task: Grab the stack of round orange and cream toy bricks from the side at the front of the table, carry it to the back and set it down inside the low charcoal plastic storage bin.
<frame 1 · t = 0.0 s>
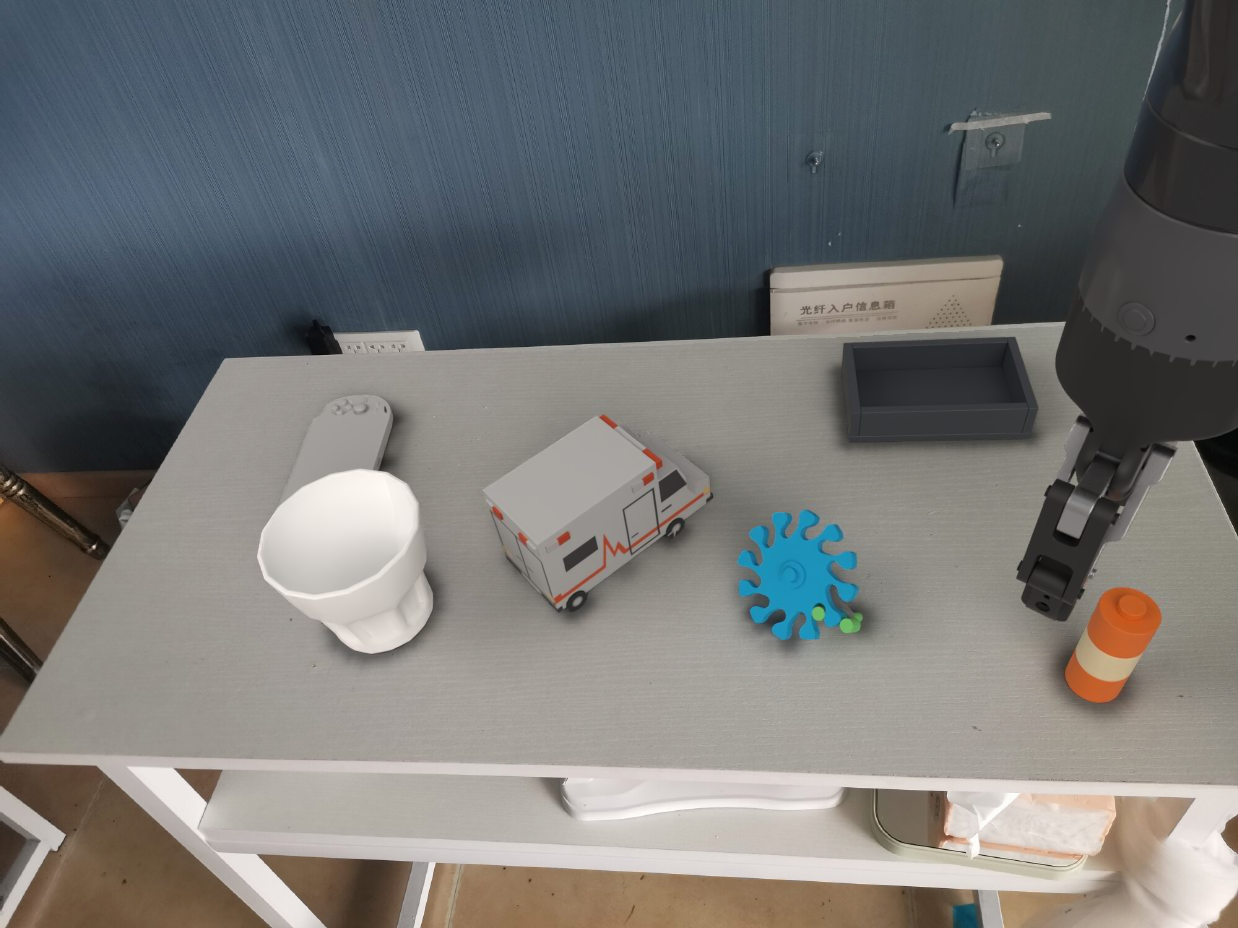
hand: (1079, 549, 45), 22 cm above the table, tool pointing down, fingers open, 8 cm apart
cup: (385, 611, 75), on the table
gear: (799, 607, 70), on the table
brick tower: (1092, 679, 63), on the table
bin: (930, 403, 83), on the table
game console: (343, 474, 87), on the table
toy vehicle: (612, 537, 77), on the table
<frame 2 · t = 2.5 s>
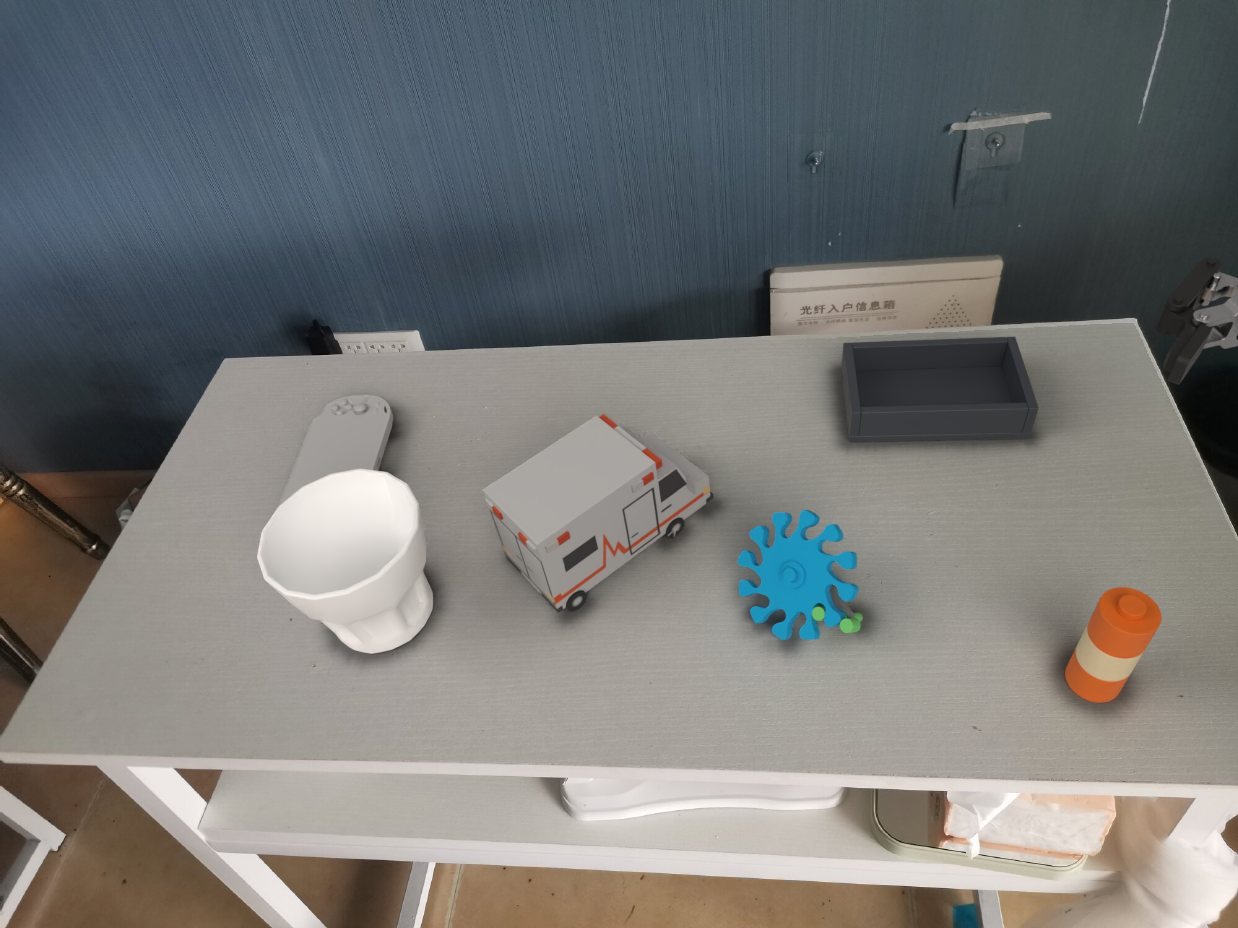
nothing on the table moved.
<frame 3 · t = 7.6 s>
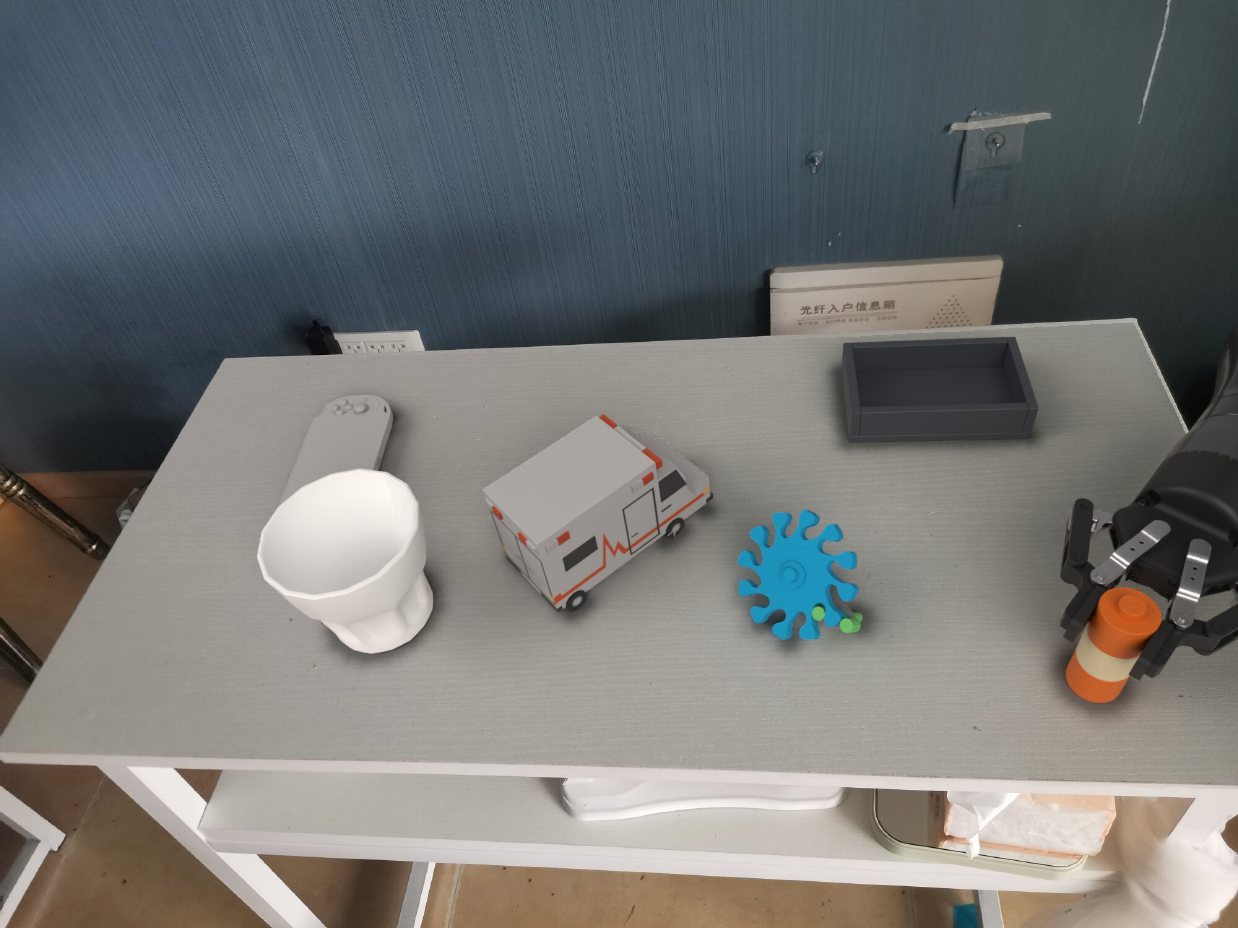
hand: (1104, 651, 56), 8 cm above the table, tool horizontal, fingers closed on brick tower, 3 cm apart
brick tower: (1092, 680, 63), on the table, touching gripper
everything else where it was.
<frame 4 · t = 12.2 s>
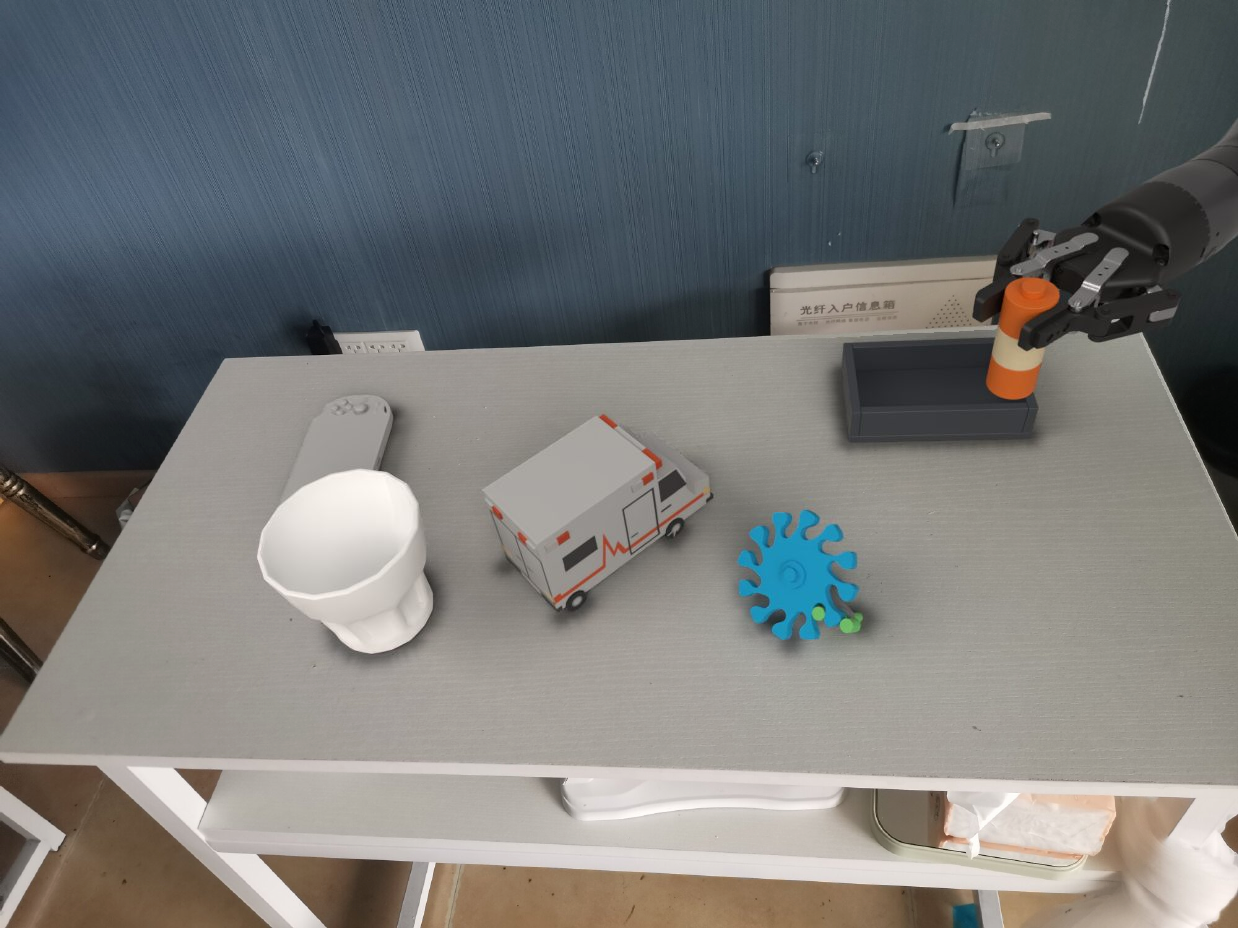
hand: (1000, 324, 64), 17 cm above the table, tool horizontal, fingers closed on brick tower, 3 cm apart
brick tower: (1010, 383, 70), point 10 cm above the table, touching gripper
everything else where it was.
when the fingers open (8 cm above the table, at t = 16.7 s): brick tower stays where it is, resting on bin.
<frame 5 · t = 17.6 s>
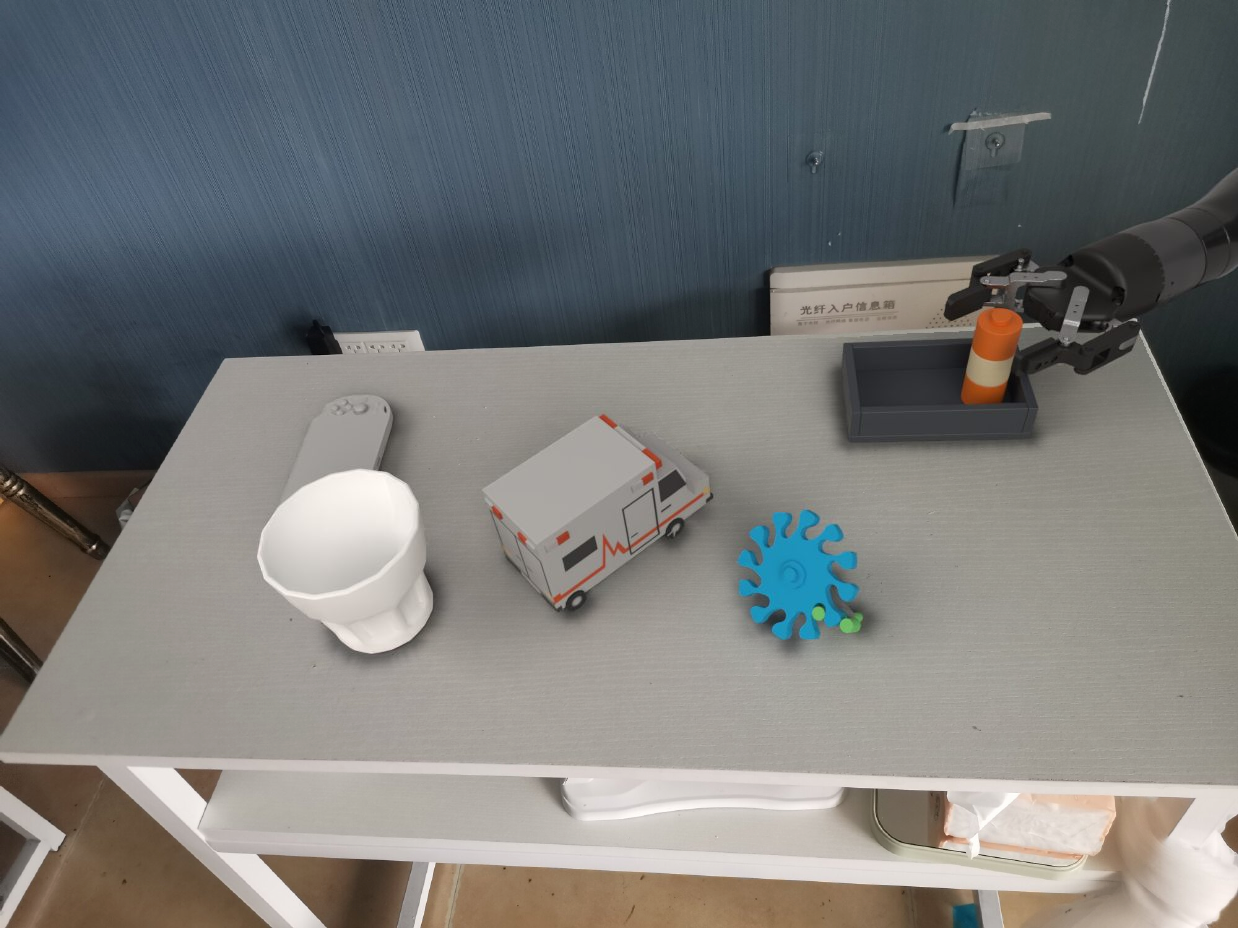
hand: (980, 337, 75), 9 cm above the table, tool horizontal, fingers open, 8 cm apart
brick tower: (981, 397, 82), point 1 cm above the table, touching bin
everything else where it was.
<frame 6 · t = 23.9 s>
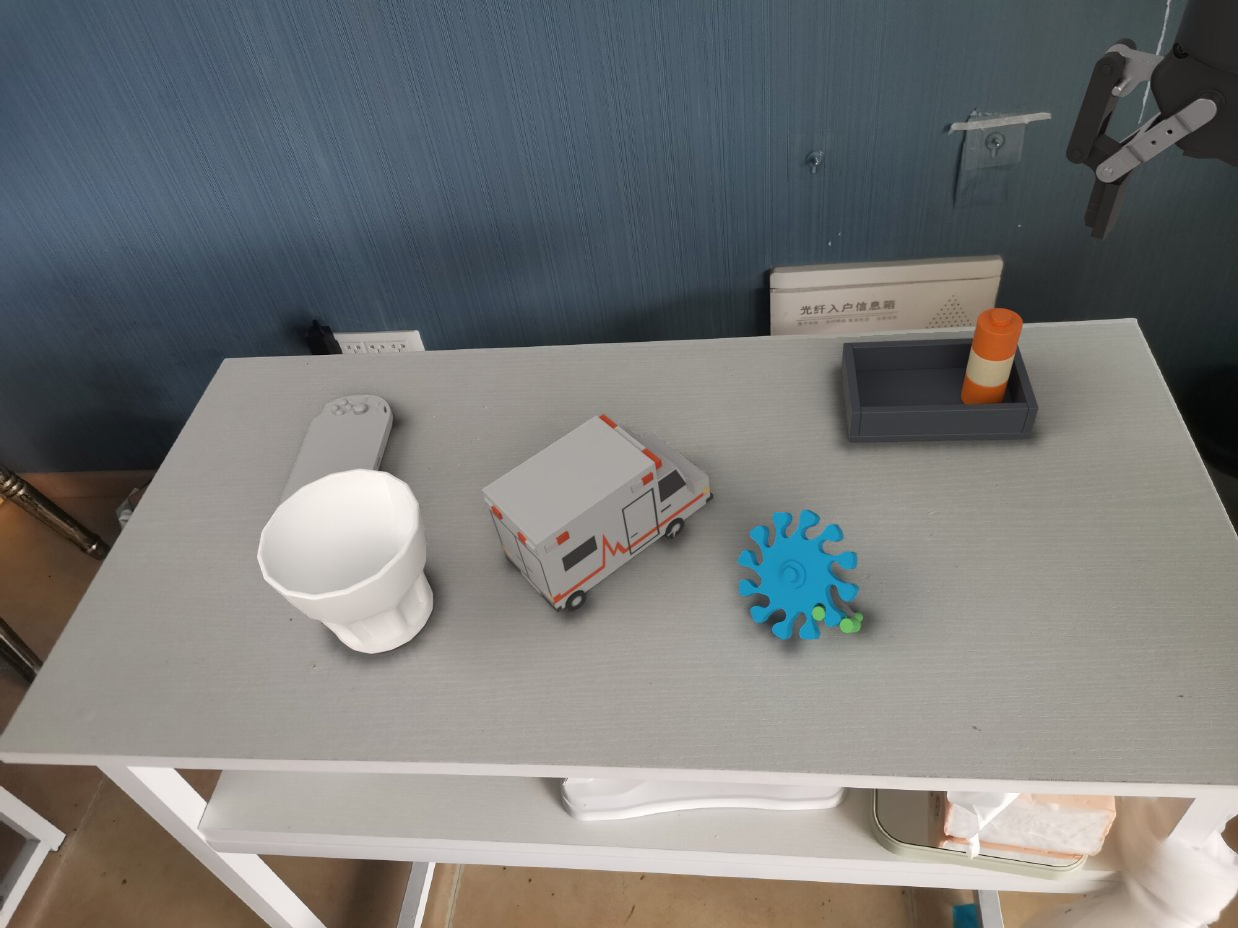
hand: (1181, 254, 50), 28 cm above the table, tool pointing down, fingers open, 8 cm apart
nothing on the table moved.
at the end: brick tower inside the target area in the bin (4.4 cm from its centre), point 0.8 cm above the bin's base; the gripper is holding nothing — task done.
